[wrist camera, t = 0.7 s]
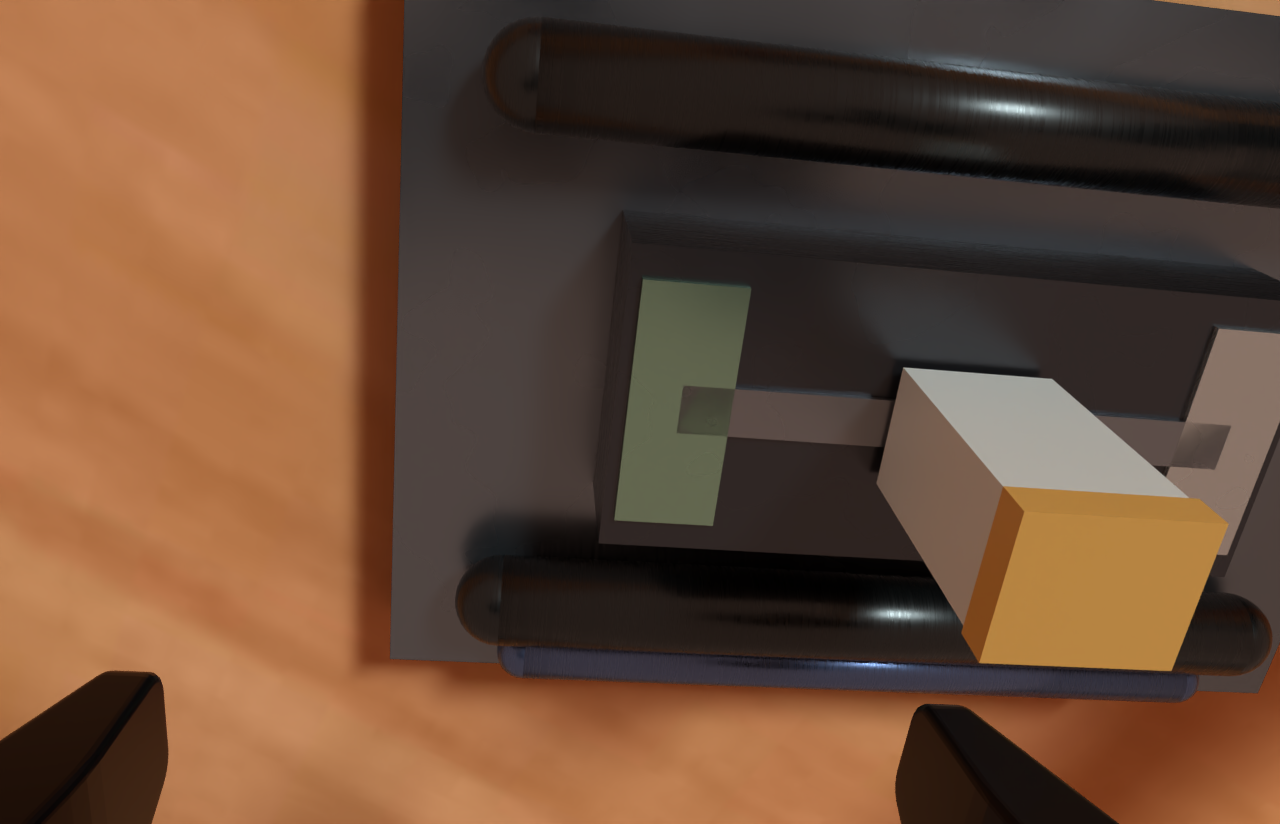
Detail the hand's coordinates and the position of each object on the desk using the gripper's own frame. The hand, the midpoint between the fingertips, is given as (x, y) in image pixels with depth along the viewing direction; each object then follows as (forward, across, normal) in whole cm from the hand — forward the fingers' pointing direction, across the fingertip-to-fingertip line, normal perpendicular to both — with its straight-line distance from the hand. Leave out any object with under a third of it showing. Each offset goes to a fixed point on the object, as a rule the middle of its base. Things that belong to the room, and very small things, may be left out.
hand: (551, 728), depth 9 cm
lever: (+7, -7, 0) cm, 10 cm away
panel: (+11, -6, 0) cm, 13 cm away
